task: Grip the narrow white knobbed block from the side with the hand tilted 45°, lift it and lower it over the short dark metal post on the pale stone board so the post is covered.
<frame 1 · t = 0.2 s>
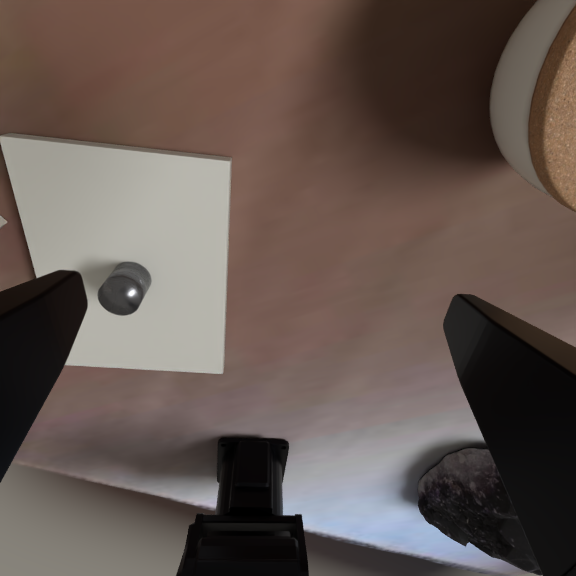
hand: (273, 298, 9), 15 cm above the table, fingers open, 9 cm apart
dark rough rock: (475, 475, 39), on the table
metal post: (132, 278, 24), resting on stone board
lidded jar: (553, 76, 20), on the table
stone board: (137, 270, 25), on the table
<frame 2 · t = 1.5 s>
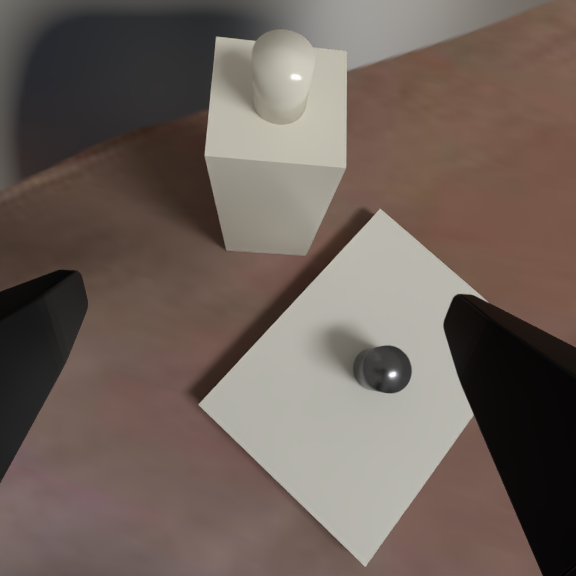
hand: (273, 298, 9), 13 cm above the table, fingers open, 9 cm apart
metal post: (373, 369, 21), resting on stone board
stone board: (368, 369, 22), on the table
white knobbed block: (268, 215, 24), on the table
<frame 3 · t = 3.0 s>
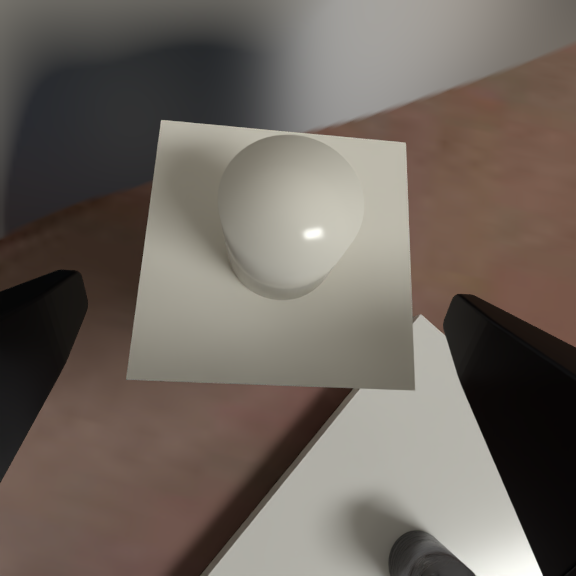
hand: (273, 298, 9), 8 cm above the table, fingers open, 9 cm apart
metal post: (418, 564, 15), resting on stone board
stone board: (407, 552, 16), on the table
white knobbed block: (264, 322, 17), on the table
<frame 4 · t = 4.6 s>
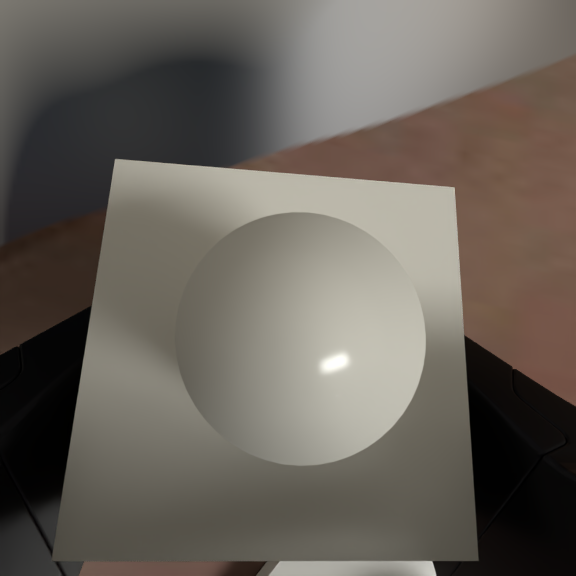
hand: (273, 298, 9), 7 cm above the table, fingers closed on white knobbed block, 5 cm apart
white knobbed block: (263, 362, 15), on the table, touching gripper
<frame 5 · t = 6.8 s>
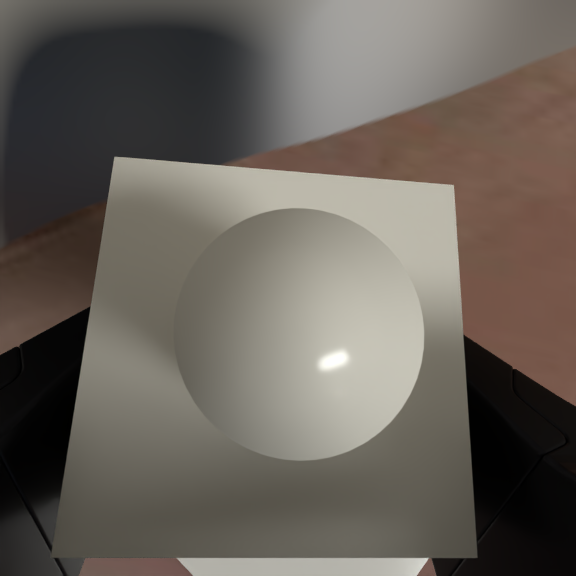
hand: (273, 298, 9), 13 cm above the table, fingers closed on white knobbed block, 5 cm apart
stone board: (334, 476, 21), on the table
white knobbed block: (263, 361, 15), point 7 cm above the table, touching gripper
when the fingers open (9 cm above the table, at t = 9.3 s): white knobbed block drops 1 cm, resting on stone board.
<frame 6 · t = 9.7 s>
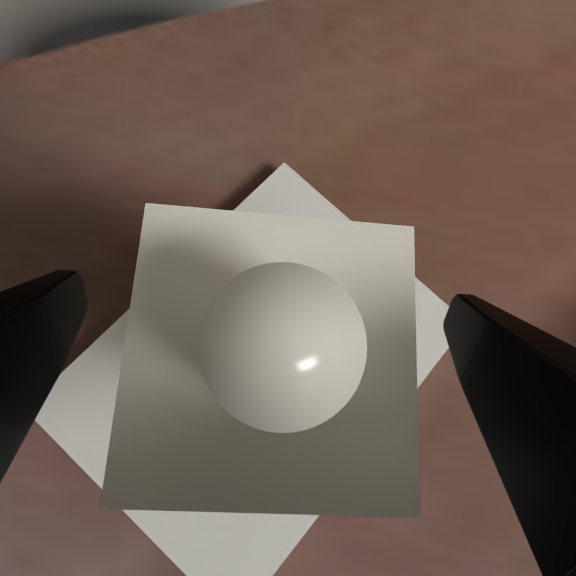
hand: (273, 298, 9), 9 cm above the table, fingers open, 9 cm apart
stone board: (262, 362, 18), on the table
white knobbed block: (261, 362, 17), point 1 cm above the table, touching stone board
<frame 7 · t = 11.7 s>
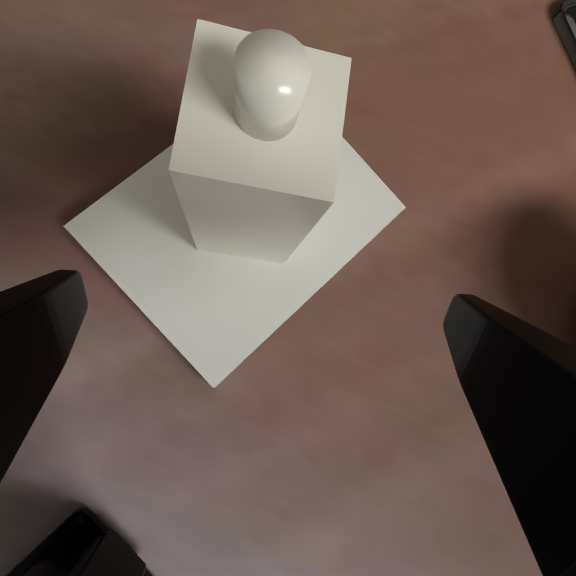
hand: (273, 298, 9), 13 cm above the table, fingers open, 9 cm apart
stone board: (247, 221, 23), on the table
white knobbed block: (247, 215, 22), point 1 cm above the table, touching stone board
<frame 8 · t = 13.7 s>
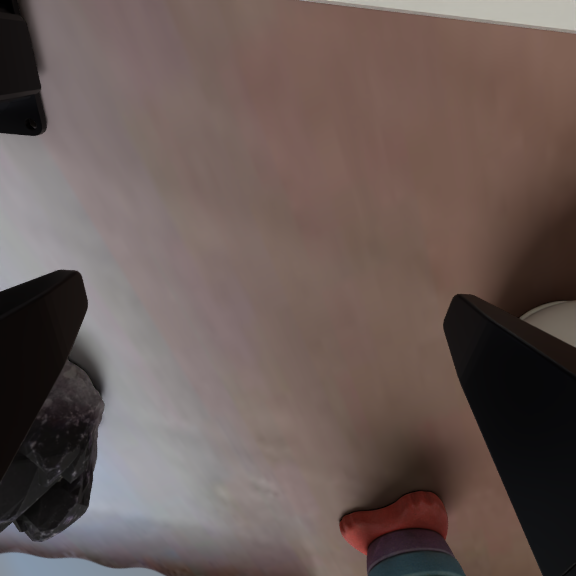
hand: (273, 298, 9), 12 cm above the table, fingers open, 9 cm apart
dark rough rock: (27, 397, 28), on the table
lidded jar: (544, 334, 26), on the table
stacking bear: (398, 520, 40), on the table
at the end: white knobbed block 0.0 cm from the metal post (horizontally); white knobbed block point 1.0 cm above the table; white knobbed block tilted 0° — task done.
